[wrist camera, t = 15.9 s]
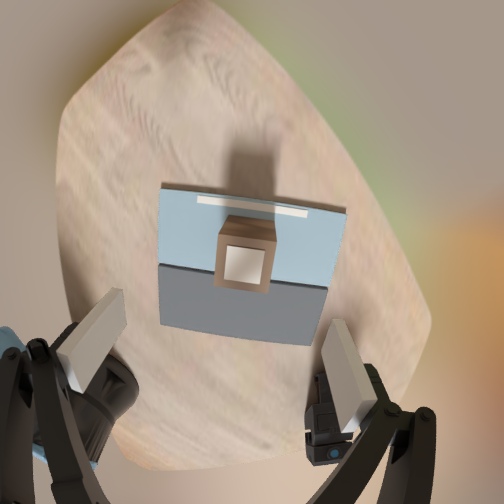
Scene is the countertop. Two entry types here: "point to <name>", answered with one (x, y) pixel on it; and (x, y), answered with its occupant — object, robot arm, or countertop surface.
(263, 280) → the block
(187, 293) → the mat
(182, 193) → the mat
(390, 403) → the robot arm
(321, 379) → the tool
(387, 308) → the countertop surface
